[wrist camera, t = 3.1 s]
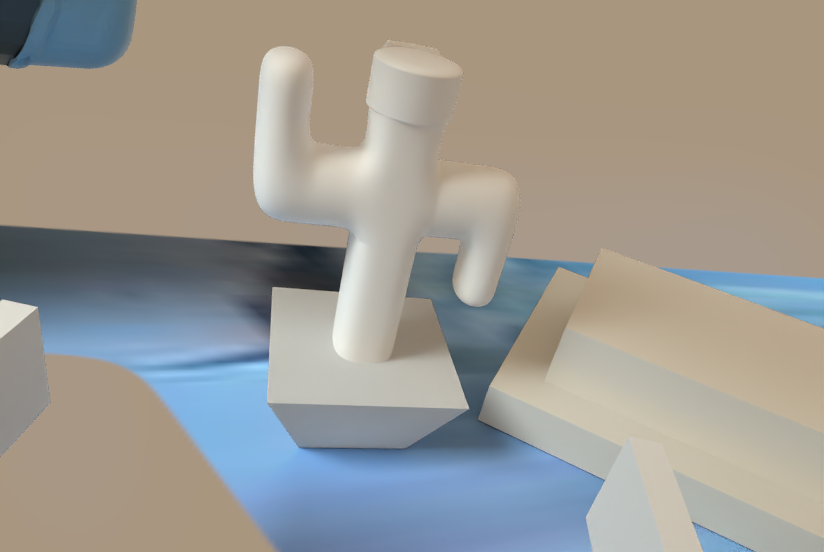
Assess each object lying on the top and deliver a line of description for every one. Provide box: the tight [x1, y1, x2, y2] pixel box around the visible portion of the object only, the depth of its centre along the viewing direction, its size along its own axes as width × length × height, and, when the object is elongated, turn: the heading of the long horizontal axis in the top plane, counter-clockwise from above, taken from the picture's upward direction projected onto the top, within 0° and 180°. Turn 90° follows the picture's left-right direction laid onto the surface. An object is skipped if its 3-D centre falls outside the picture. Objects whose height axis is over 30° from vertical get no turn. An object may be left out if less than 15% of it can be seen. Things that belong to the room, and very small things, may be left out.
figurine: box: [253, 40, 520, 449], centre depth 22 cm, size 7×9×15 cm
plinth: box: [478, 248, 824, 552], centre depth 29 cm, size 16×14×5 cm
